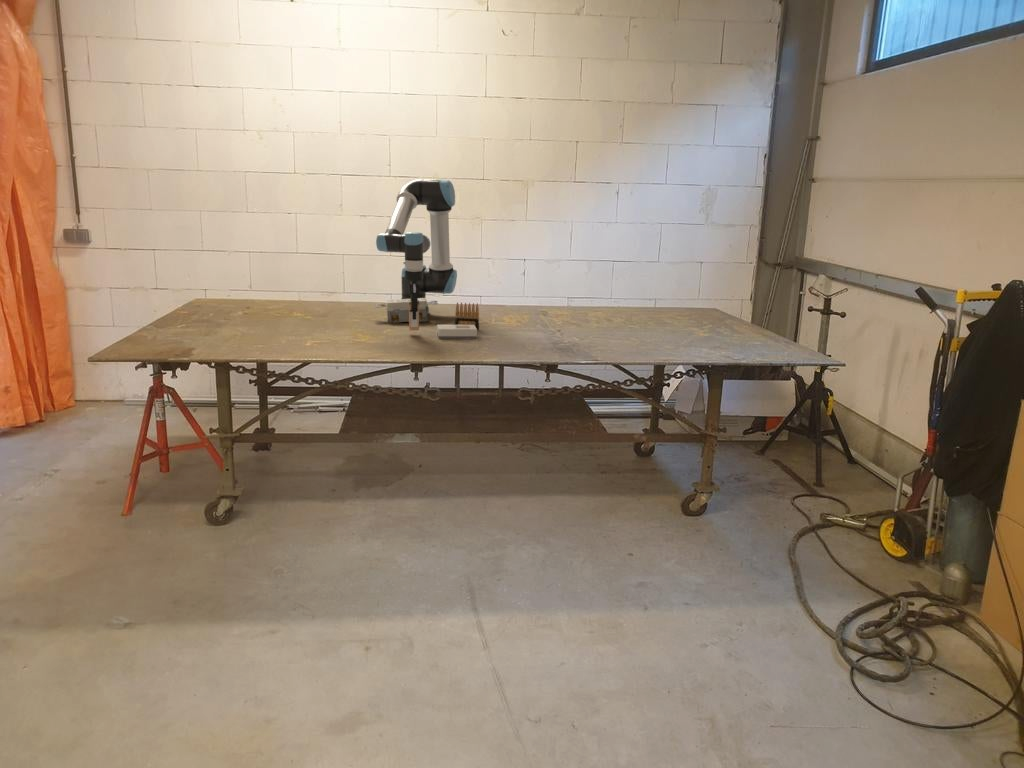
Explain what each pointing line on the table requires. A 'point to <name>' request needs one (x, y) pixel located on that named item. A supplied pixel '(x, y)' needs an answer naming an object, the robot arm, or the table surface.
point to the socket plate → (456, 332)
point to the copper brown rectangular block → (410, 318)
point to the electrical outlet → (404, 309)
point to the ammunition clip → (467, 315)
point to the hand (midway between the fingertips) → (414, 325)
